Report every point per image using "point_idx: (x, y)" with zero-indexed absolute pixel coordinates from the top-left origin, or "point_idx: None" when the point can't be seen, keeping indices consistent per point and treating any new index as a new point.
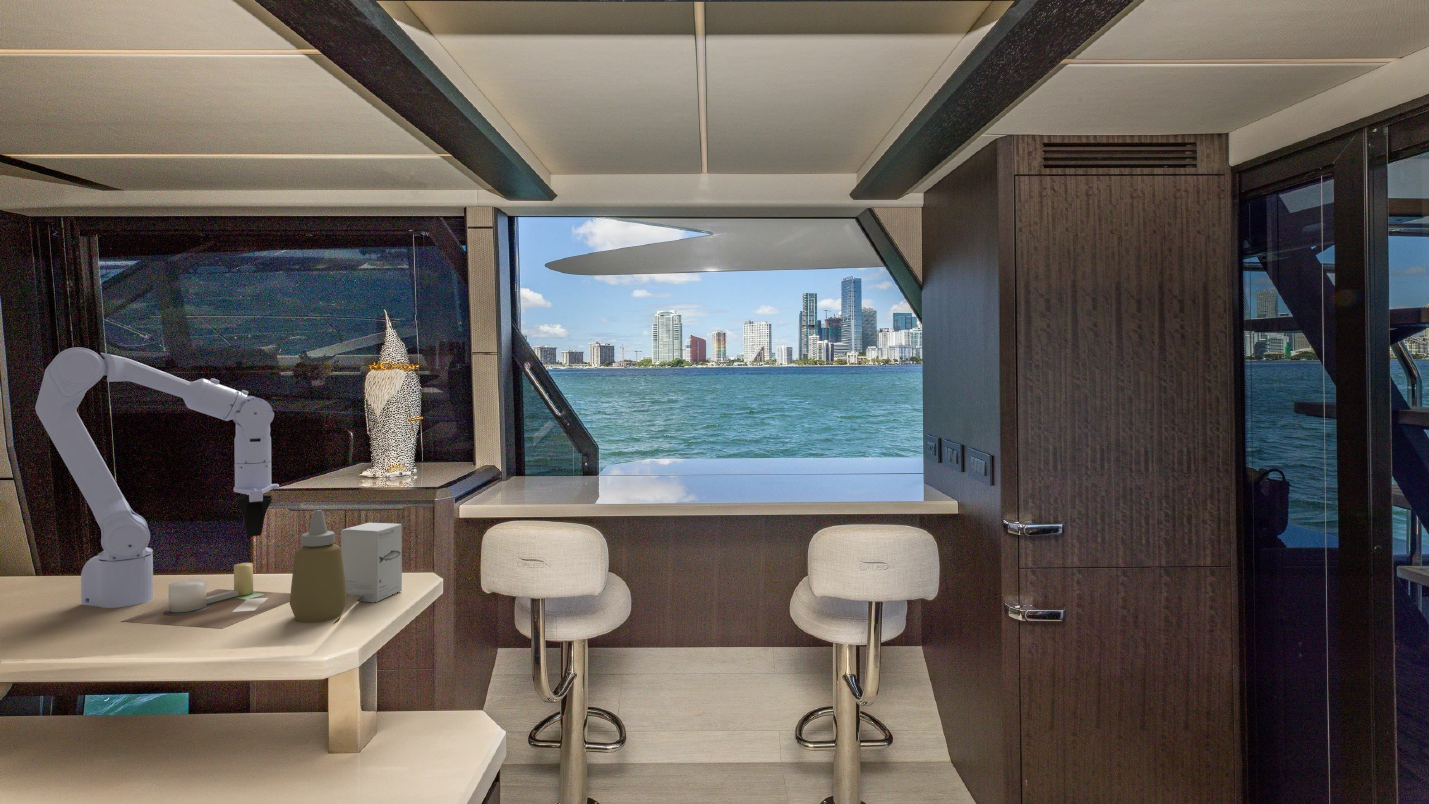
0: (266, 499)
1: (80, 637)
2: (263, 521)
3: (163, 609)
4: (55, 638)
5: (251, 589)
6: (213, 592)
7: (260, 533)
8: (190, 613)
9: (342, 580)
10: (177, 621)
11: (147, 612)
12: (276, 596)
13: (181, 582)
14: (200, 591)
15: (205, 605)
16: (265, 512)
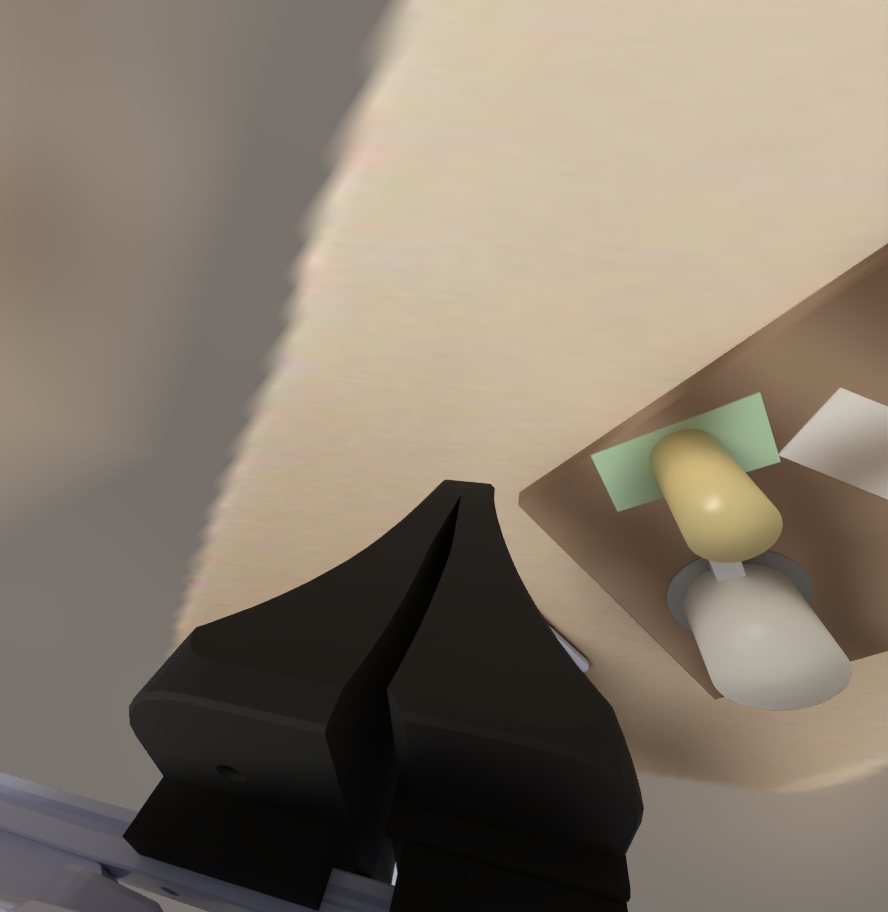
0: (622, 819)
1: (707, 724)
2: (502, 538)
3: (673, 631)
4: (672, 743)
5: (720, 444)
6: (561, 520)
7: (492, 492)
8: (810, 602)
9: None
10: (871, 634)
11: (673, 656)
12: (839, 355)
13: (742, 681)
14: (828, 631)
15: (777, 571)
16: (529, 600)
